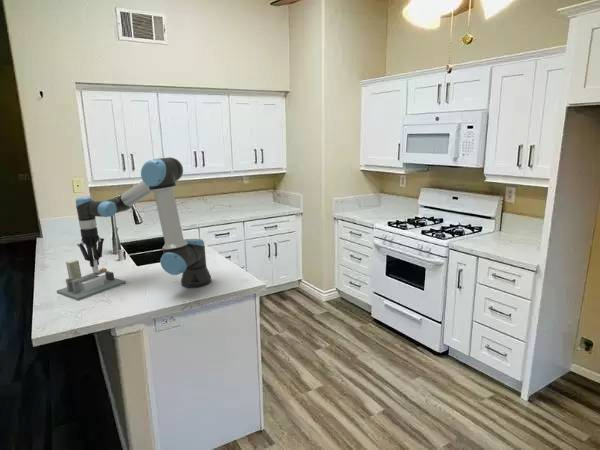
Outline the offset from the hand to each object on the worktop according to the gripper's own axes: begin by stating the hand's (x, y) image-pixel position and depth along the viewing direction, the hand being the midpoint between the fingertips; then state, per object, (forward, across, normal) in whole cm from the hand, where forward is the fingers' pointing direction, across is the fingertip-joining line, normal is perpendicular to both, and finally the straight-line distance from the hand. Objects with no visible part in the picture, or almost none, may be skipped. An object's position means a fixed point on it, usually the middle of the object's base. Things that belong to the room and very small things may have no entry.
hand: (95, 272), depth 201 cm
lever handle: (+2, +3, 0) cm, 3 cm away
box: (+8, +1, -20) cm, 21 cm away
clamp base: (+8, +3, 0) cm, 8 cm away
